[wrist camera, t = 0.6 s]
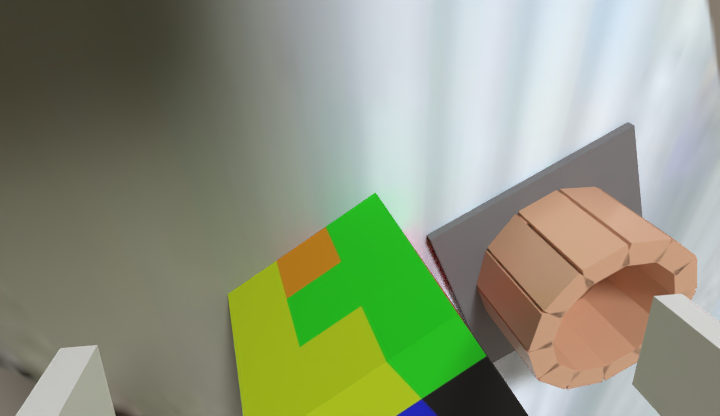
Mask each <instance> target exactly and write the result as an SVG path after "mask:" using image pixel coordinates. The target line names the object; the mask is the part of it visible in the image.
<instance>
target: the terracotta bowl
mask: <svg viewBox="0 0 720 416" xmlns="http://www.w3.org/2000/svg"><path fill="white" fill-rule="evenodd" d="M518 212H519V214H518V215H516V214H515V215H514V216H513V217H512V218H511V220H510V221H509V222H508V223H507V224H506V226H505V227H504V228H503V229H502V230H501V232H500V233H499V234H498V235H497V236H496V238H495V239H494V240H493V241H492V242H491V244H490V245H489V246H488V247H487V248H488V250H486V251H485V255H484V258H483V262H482V266H481V270H480V273H479V277H478V281H477V286H478V287H477V289H478V292H479V294H480V297H481V299H482V302H483V304H484V307H485V309H486V312H487V313H488V314H489V316H490V317H491V318H492V320H493V321H494V322H495V324H496V325H497V326H498V328H499V329H500V330H501V332H502V333H503V334H504V336H505V337H506V338H507V340H508V341H509V342H510V344H511V345H512V346H513V348H514V349H515V350H516V352H517V353H518V354H519V356H520V357H521V358H522V360H523V361H524V362H525V364H526V365H527V366H528V368H529V369H530V370H531V372H532V373H533V374H534V376H535V377H536V378H537V379H538V380H539V381H541V382H544V383H547V384H550V385H553V386H556V387H559V388H562V389H565V388H567V389H571V388H575V387H580V386H585V385H590V384H594V383H599V382H602V380H603V379H604V380H607V379H609V378H610V377H612V376H614V375H616V374H617V373H619V372H621V371H623V370H624V369H626V368H628V367H630V366H631V365H633V364H635V363H637V362H638V358H639V354H640V350H641V346H642V342H643V338H644V334H645V330H646V325H647V321H648V317H649V313H650V309H651V305H652V301H653V297H654V296H660V295H672V294H683V295H685V296H686V297H687V298H689V299H690V300H691V299H692V297H693V296H694V294H695V292H696V290H694V289H696V288H697V258H696V256H695V255H694V254H693V253H691V252H690V251H689V250H688V249H686V248H685V247H684V246H682V245H681V244H680V243H678V242H677V241H676V240H674V239H673V238H671V237H670V236H668V235H667V234H666V233H664V232H663V231H661V230H660V229H658V228H657V227H655V226H654V225H652V224H651V223H649V222H648V221H647V220H645V219H644V218H642V217H641V216H639V215H638V214H636V213H635V212H633V211H632V210H630V209H629V208H628V207H626V206H625V205H623V204H622V203H620V202H619V201H617V200H616V199H614V198H613V197H611V196H610V195H609V194H607V193H606V192H604V191H603V190H601V189H600V188H597V187H581V188H565V189H560V190H559V191H557V190H555V191H554V192H552V193H550V194H548V195H547V196H545V197H543V198H541V199H539V200H538V201H536V202H534V203H532V204H531V205H529V206H527V207H525V208H524V209H522V210H520V211H518Z"/></svg>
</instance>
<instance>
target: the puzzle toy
mask: <svg viewBox="0 0 720 416" xmlns="http://www.w3.org/2000/svg"><path fill="white" fill-rule="evenodd" d="M228 300H229V308H230V316H231V324H232V332H233V340H234V348H235V356H236V364H237V372H238V380H239V388H240V396H241V404H242V412H243V416H528V414H527V413H526V411H525V410H524V409H523V407H522V406H521V404H520V403H519V401H518V400H517V398H516V397H515V395H514V394H513V392H512V391H511V389H510V388H509V386H508V385H507V383H506V382H505V381H504V379H503V378H502V376H501V375H500V373H499V372H498V370H497V369H496V367H495V366H494V364H493V363H492V361H491V360H490V358H489V357H488V355H487V354H486V353H485V351H484V350H483V348H482V347H481V345H480V344H479V342H478V341H477V339H476V338H475V336H474V335H473V333H472V332H471V330H470V329H469V327H468V326H467V325H466V323H465V322H464V320H463V319H462V317H461V316H460V314H459V313H458V311H457V310H456V308H455V307H454V305H453V304H452V302H451V301H450V299H449V298H448V297H447V295H446V294H445V292H444V291H443V289H442V288H441V286H440V285H439V283H438V282H437V281H436V279H435V278H434V276H433V275H432V273H431V272H430V270H429V269H428V268H427V266H426V265H425V263H424V262H423V260H422V259H421V258H420V256H419V255H418V253H417V252H416V250H415V249H414V247H413V246H412V245H411V243H410V242H409V240H408V239H407V237H406V236H405V234H404V233H403V232H402V230H401V229H400V227H399V226H398V224H397V223H396V221H395V220H394V219H393V217H392V216H391V214H390V213H389V211H388V210H387V208H386V207H385V206H384V204H383V203H382V201H381V200H380V198H379V197H378V195H377V194H376V193H374V194H373V195H371V196H370V197H369V198H367V199H366V200H364V201H363V202H361V203H360V204H358V205H357V206H355V207H354V208H353V209H351V210H350V211H348V212H347V213H345V214H344V215H342V216H341V217H339V218H338V219H337V220H335V221H334V222H332V223H331V224H329V225H328V226H326V227H325V228H323V229H322V230H321V231H319V232H318V233H316V234H315V235H313V236H312V237H310V238H309V239H307V240H306V241H305V242H303V243H302V244H300V245H299V246H297V247H296V248H294V249H293V250H292V251H290V252H289V253H287V254H286V255H284V256H283V257H281V258H280V259H278V260H277V261H276V262H274V263H273V264H271V265H270V266H268V267H267V268H265V269H264V270H262V271H261V272H260V273H258V274H257V275H255V276H254V277H252V278H251V279H249V280H248V281H246V282H245V283H244V284H242V285H241V286H239V287H238V288H236V289H235V290H233V291H232V292H230V293H229V294H228Z"/></svg>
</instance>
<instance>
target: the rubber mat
mask: <svg viewBox="0 0 720 416" xmlns="http://www.w3.org/2000/svg"><path fill="white" fill-rule="evenodd" d="M581 187H597V188H600V189H601V190H603V191H604V192H606V193H607V194H609V195H610V196H611V197H613V198H614V199H616V200H617V201H619V202H620V203H622V204H623V205H625V206H626V207H628V208H629V209H630V210H632V211H633V212H635V213H636V214H638V215H639V216H641V217H642V209H641V197H640V186H639V174H638V163H637V151H636V140H635V129H634V125H632V124H630V123H626V124H624V125H623V126H621V127H619V128H617V129H615V130H614V131H612V132H610V133H608V134H607V135H605V136H603V137H601V138H599V139H598V140H596V141H594V142H592V143H591V144H589V145H587V146H585V147H583V148H582V149H580V150H578V151H576V152H575V153H573V154H571V155H569V156H567V157H566V158H564V159H562V160H560V161H558V162H557V163H555V164H553V165H551V166H550V167H548V168H546V169H544V170H542V171H541V172H539V173H537V174H535V175H534V176H532V177H530V178H528V179H526V180H525V181H523V182H521V183H519V184H518V185H516V186H514V187H512V188H510V189H509V190H507V191H505V192H503V193H502V194H500V195H498V196H496V197H494V198H493V199H491V200H489V201H487V202H486V203H484V204H482V205H480V206H478V207H477V208H475V209H473V210H471V211H470V212H468V213H466V214H464V215H462V216H461V217H459V218H457V219H455V220H454V221H452V222H450V223H448V224H446V225H445V226H443V227H441V228H439V229H437V230H436V231H434V232H432V233H430V234H429V235H427V237H428V239H429V241H430V243H431V245H432V248H433V250H434V252H435V254H436V256H437V259H438V261H439V263H440V265H441V267H442V270H443V272H444V274H445V276H446V278H447V281H448V283H449V285H450V287H451V289H452V292H453V294H454V296H455V298H456V300H457V303H458V305H459V307H460V309H461V311H462V314H463V316H464V318H465V320H466V322H467V325H468V327H469V329H470V330H471V332H472V333H473V335H474V336H475V338H476V339H477V341H478V342H479V344H480V345H481V347H482V348H483V350H484V351H485V353H486V354H487V355H488V357H489V358H490V360H491V361H492V363H493V362H495V361H497V360H498V359H500V358H502V357H504V356H505V355H507V354H509V353H511V352H512V351H514V350H515V349H514V348H513V346H512V345H511V344H510V342H509V341H508V340H507V338H506V337H505V336H504V334H503V333H502V332H501V330H500V329H499V328H498V326H497V325H496V324H495V322H494V321H493V320H492V318H491V317H490V316H489V314H488V313H487V312H486V309H485V307H484V304H483V302H482V299H481V297H480V294H479V292H478V289H477V287H478V286H477V281H478V277H479V273H480V270H481V266H482V262H483V258H484V255H485V251H486V250H488V248H487V247H488V246H489V245H490V244H491V242H492V241H493V240H494V239H495V238H496V236H497V235H498V234H499V233H500V232H501V230H502V229H503V228H504V227H505V226H506V224H507V223H508V222H509V221H510V220H511V218H512V217H513V216H514V215H515V214H516V215H518V214H519V212H518V211H520V210H522V209H524V208H525V207H527V206H529V205H531V204H532V203H534V202H536V201H538V200H539V199H541V198H543V197H545V196H547V195H548V194H550V193H552V192H554V191H555V190H557V191H559V190H560V189H565V188H581Z"/></svg>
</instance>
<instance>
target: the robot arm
mask: <svg viewBox="0 0 720 416" xmlns="http://www.w3.org/2000/svg"><path fill="white" fill-rule="evenodd" d="M632 384H633V385H634V387H635V388H636V389H637V390H638V391H639V392H640V393H641V394H642V395H643V397H644V398H645V399H646V400H647V401H648V402H649V403H650V404H651V405H652V407H653V408H654V409H655V410H656V411H657V412H658V413H659V414H660V415H661V416H720V321H718V320H717V319H716V318H714V317H713V316H712V315H710V314H709V313H708V312H706V311H705V310H704V309H702V308H701V307H699V306H698V305H697V304H695V303H694V302H693V301H691V300H690V299H689V298H687V297H686V296H685V295H683V294H672V295H660V296H654V297H653V301H652V305H651V309H650V313H649V317H648V321H647V325H646V330H645V334H644V338H643V342H642V346H641V350H640V354H639V358H638V362H637V366H636V370H635V375H634V379H633V383H632ZM16 416H115V412H114V408H113V404H112V400H111V396H110V392H109V388H108V384H107V381H106V377H105V373H104V369H103V365H102V361H101V357H100V353H99V349H98V345H92V346H81V347H70V348H60V349H59V351H58V352H57V354H56V355H55V357H54V358H53V360H52V361H51V363H50V364H49V366H48V367H47V369H46V370H45V372H44V373H43V375H42V376H41V378H40V380H39V381H38V383H37V384H36V386H35V387H34V389H33V390H32V392H31V393H30V395H29V396H28V398H27V399H26V401H25V403H24V404H23V406H22V407H21V408H20V410H19V411H18V413H17V414H16Z"/></svg>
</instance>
